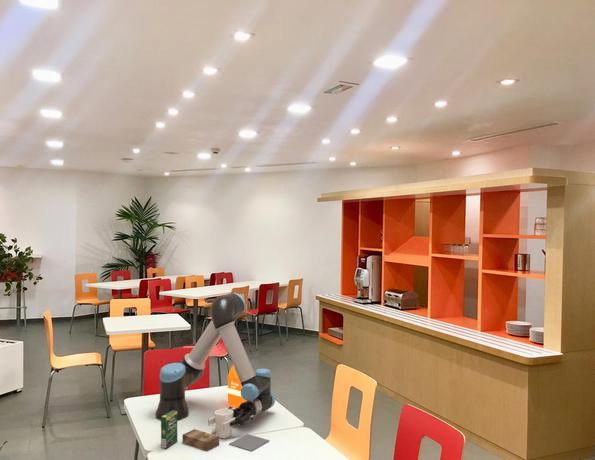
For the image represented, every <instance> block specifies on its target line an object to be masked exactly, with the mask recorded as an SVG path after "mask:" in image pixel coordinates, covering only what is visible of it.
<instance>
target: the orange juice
mask: <svg viewBox="0 0 595 460" xmlns="http://www.w3.org/2000/svg"><path fill="white" fill-rule="evenodd" d="M241 388H242V386H241V383H240V380H239V378H238V376H237V373H236V371H235V368H234V366H233V364H232V366H231V368H230V370H229V373H228V375H227V405H228V406H229V407H234V408H238V407H239V406H240V404H241V403H243V402H245V401H247V400H245V399H243V398H242V396H241Z"/></svg>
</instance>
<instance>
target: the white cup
mask: <svg viewBox="0 0 595 460" xmlns="http://www.w3.org/2000/svg"><path fill="white" fill-rule="evenodd" d="M214 416H215V424H214V426H215V428H214V429H215V435H216V436H219V439H225V438H229V437H231V436H232V434H233V426H232V427H230V428H228V429H226V430H223V423H225V422H227V421H229V420H231V419H234V418H233V410H231V409H227V408H220V409H216V410H215V411H214Z"/></svg>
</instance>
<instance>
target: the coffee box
mask: <svg viewBox="0 0 595 460" xmlns="http://www.w3.org/2000/svg"><path fill="white" fill-rule="evenodd" d="M160 432H161V433H160V447H161V449H163V448H164V450H167V449H169V448H170V447H171V446H173V445H174V444H176V443H177V442H178V420H177V411H174V410H172V411H170V412H169V413H167V414H165V415H164V416H162V417H161V420H160Z"/></svg>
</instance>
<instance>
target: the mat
mask: <svg viewBox="0 0 595 460" xmlns="http://www.w3.org/2000/svg"><path fill="white" fill-rule="evenodd" d="M269 442H270V439H266V438H262V437H259V436H257V435H253V434H249V433H246V434H244V435H243V436H240V437H238V438H236V439H235V440H233V441H231V442H230V443H228V445H229V446H232V447H235V448H238V449H242V450H244V451H248V452H251V453H252V452H254V451H255V450H258V449H259V448H261V447H262V446H264V445H266V444H267V443H269Z"/></svg>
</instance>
